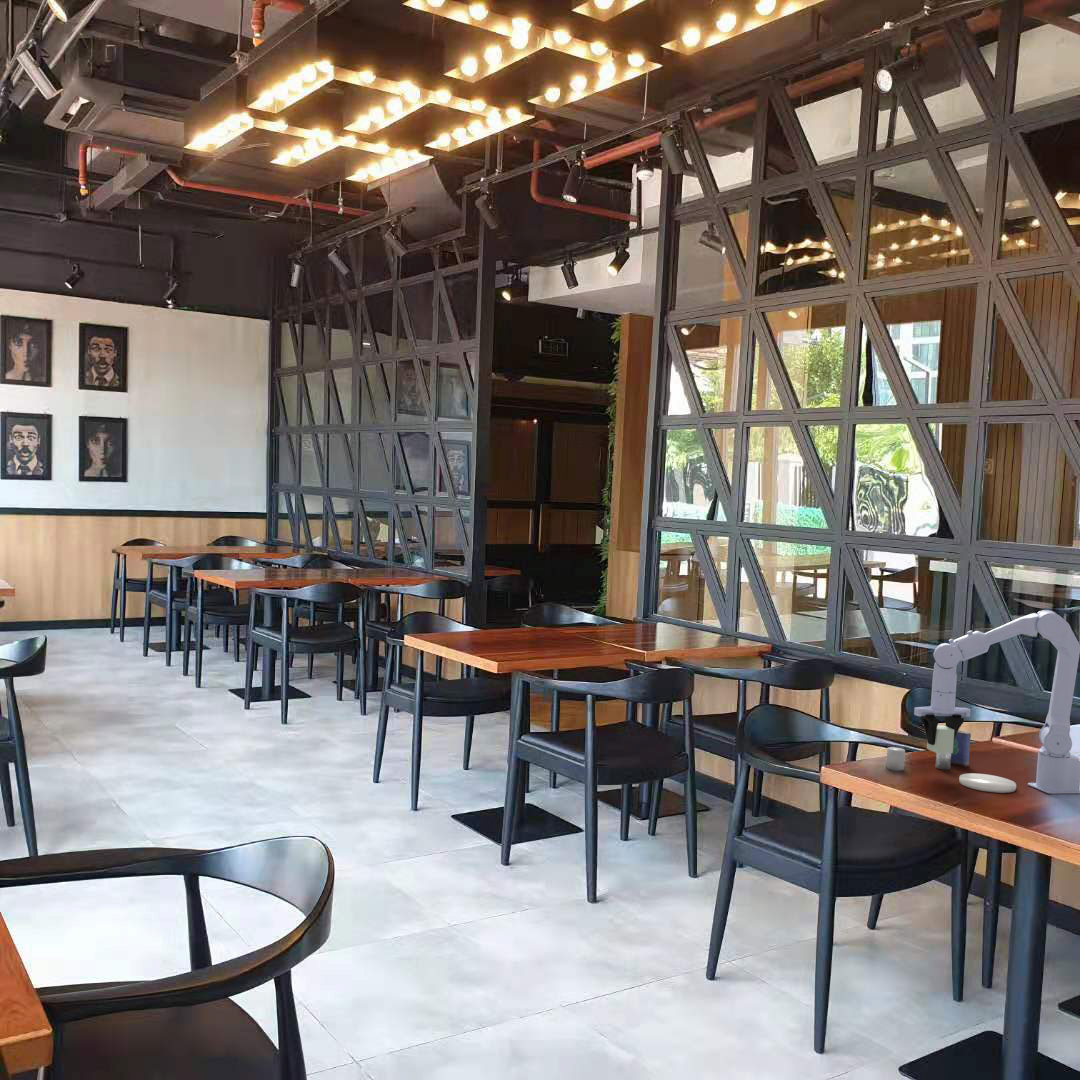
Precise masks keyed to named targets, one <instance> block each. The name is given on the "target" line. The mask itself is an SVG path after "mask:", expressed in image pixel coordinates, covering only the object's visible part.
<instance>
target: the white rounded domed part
mask: <svg viewBox="0 0 1080 1080" xmlns="http://www.w3.org/2000/svg"><path fill="white" fill-rule="evenodd" d="M905 756H906V750H905V749H904V748H900V747H895V746H893V747H892V746H890V747H887V748H886V760H885V761H886V763H885V764H886V765H885V768H886V769H888V770H890V771H896V772H897V771H898V772H899V771H900V772H902V771H904V769H905V761H906V760H905V758H906V757H905Z"/></svg>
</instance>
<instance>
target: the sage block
mask: <svg viewBox="0 0 1080 1080" xmlns="http://www.w3.org/2000/svg"><path fill="white" fill-rule="evenodd" d="M953 742H954V729H951V728H949V727H947V726H946V725H938V726H937V730H936V738H935V744H934V745H931V744H928V741H926V749H927V750H929V751H931V752H933V753H935V754H936V753H953Z"/></svg>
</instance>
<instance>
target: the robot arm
mask: <svg viewBox="0 0 1080 1080" xmlns="http://www.w3.org/2000/svg"><path fill="white" fill-rule="evenodd" d="M1037 633H1038V634H1040V635H1041V637H1043V638H1045V639H1046V640H1048V641H1049V642H1050V643H1051V644H1052V645H1053V646H1054V648H1055V649H1056V650H1057V654H1056V655H1057V656H1056V662H1055V667H1054V674H1053V682H1052V686H1051V687H1052V688H1051V694H1050V701H1049V706H1048V713H1047V715H1046V718H1045V721H1044V722H1045V723H1044V724H1043V726H1042V727H1041V729H1040V730H1039V734H1038V735H1039V736H1038V737H1039V741H1040V742H1041V744H1042V745H1041V747H1040V748H1039V749H1038V750H1037V752H1038V753H1037V762H1036V763H1037V765H1036V778H1035V779H1036V780H1035V782H1028V783H1027V785H1028V786H1030V787H1032V788H1035V789H1036V790H1039V791H1041V792H1043V793H1046V794H1053V795H1054V794H1055V795H1056V794H1080V759H1079V757H1077V756H1076V754H1072V753H1071V752H1070V751H1071V750H1072V747H1073V741H1072V739H1071V732H1070V731H1071V719H1070V717H1071V712H1072V706H1073V705H1072V704H1073V699H1074V698H1073V697H1074V693H1075V687H1076V679H1077V671H1078V667H1079V659H1080V642H1079V641H1078V638H1077V637H1076V636H1075V635H1076V634H1075V633H1074V632H1073V630H1072V627H1071V625H1070V623H1069V622H1067V620H1065V618H1063V617H1062V616H1061V615H1060V614H1059V613H1058V614H1057V613H1056V612H1055V611H1053V610H1051V609H1043V610H1039V611H1038V612H1037V613H1036V612H1033V613H1029V614H1027V615H1023V616H1021V617H1018V618H1016V619H1013V620H1012V621H1010V622H1007V623H1005V624H1002V625H1000V626H998V627H995V628H993V629H991V630H988V631H987V632H982V631H980V630H975V631H973V630H971V629H970V630H969V631H967V632H966V634H964V635H962V636H961V637H958V638H956V639H953V638H950V639H948V642H949V643H948V642H947V643H946V642H944V643H940V644H938V645H937V646H936V647H935V649H934V651H933V653H932V654H933V658H934V661H935V662H934V665H933V671H932V672H933V673H932V680H931V683H932V684H931V698H930V705H928V706H918V707H916V706H915V707H914V708H913V709H914V712H913V715H914V716H917V717H919V719H920V720H921V722H922V725H923V727H924V730H925V734H926V740H927V741H928V744H931V745H934V744H935V738H936V730H937V726H939V722H940V720H939V719H937V718H936V717H944V719H945V720H944V721H945V726H947V727H949V728H951V729H954V739H955V736H956V734H957V732H958V730H960V728H961V727H962V725H963V723H965V718H964V717H967V718H970V717H971V709H970V708H967V707H960V706H959V707H957V706H956V695H957V683H958V682H957V678H958V674H957V666H958V664H959V662H964V661H968V660H970V659H973V658H975V657H977V656H980V655H983V654H985V653H988V651H989V649H990V647H991V645H993V644H996V643H999V642H1002V641H1005V640H1007V639H1010V638H1013V637H1016V636H1019V635H1021V634H1023V635H1031V636H1036V635H1037ZM927 741H926V742H927Z"/></svg>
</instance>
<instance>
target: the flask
mask: <svg viewBox="0 0 1080 1080" xmlns="http://www.w3.org/2000/svg"><path fill="white" fill-rule="evenodd" d="M971 738H972V735H971V732H969V731H964V730H960V729H959V730H958V732H957V734H956V736H955V739H954V742H953V753H951V763H950V765H951V764H952V765H957V766H959V767H961V766H962V767H968V766H969V763H970V748H971V747H970V746H971Z"/></svg>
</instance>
